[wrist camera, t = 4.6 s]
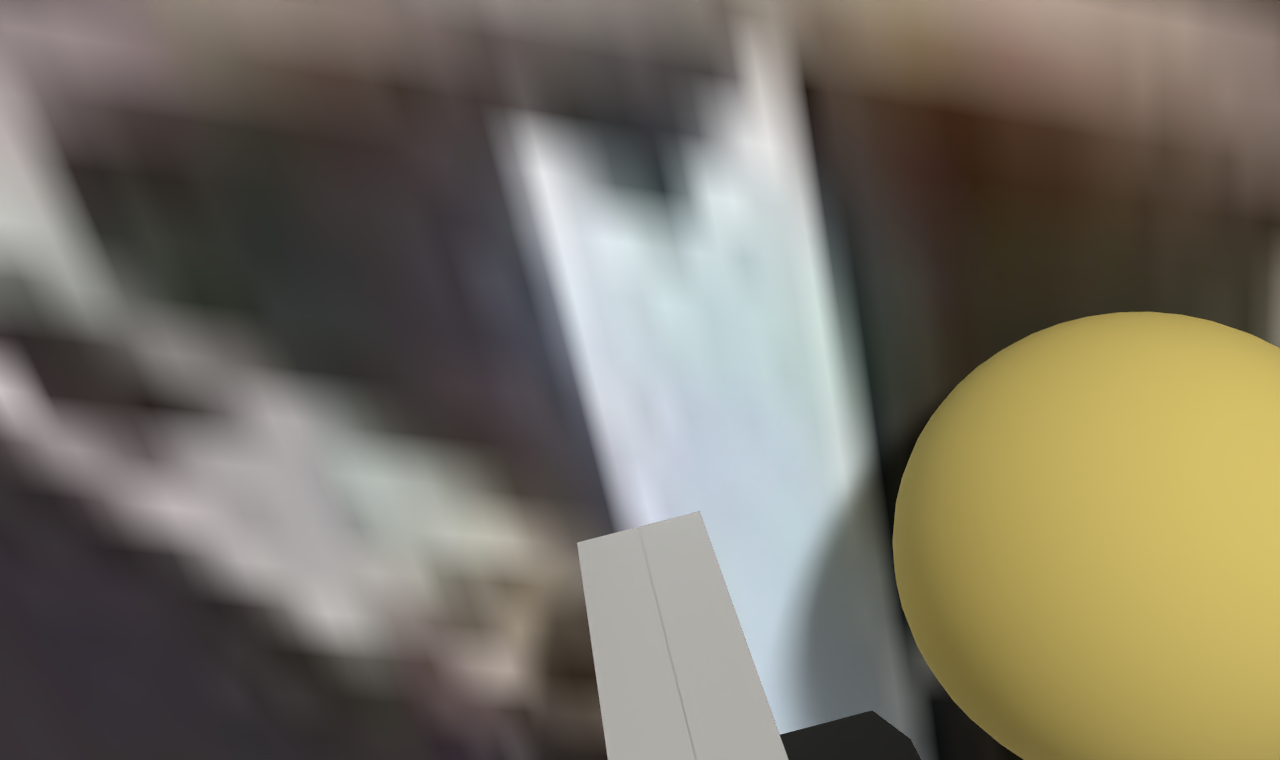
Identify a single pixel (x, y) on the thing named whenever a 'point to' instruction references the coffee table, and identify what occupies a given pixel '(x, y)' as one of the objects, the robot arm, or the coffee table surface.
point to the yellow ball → (1104, 542)
